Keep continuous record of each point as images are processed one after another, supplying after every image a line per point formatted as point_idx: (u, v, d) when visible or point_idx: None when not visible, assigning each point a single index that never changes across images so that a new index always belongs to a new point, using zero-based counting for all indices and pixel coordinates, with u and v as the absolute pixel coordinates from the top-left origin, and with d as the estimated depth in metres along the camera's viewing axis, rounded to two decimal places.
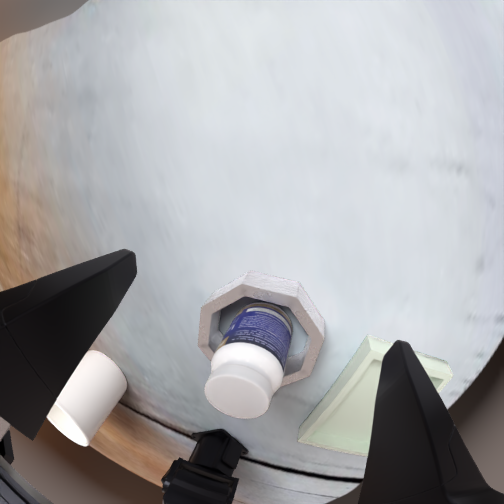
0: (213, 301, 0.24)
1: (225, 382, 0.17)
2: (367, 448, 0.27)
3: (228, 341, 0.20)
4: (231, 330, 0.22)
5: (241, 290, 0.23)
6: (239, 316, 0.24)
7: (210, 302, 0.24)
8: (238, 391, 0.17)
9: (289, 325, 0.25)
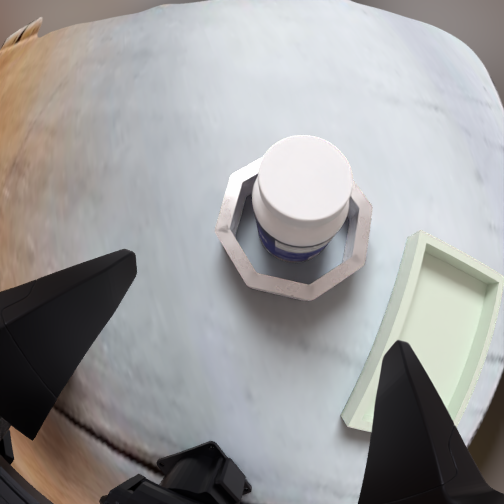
0: (247, 167, 0.21)
1: (293, 145, 0.13)
2: None
3: None
4: None
5: None
6: None
7: (243, 168, 0.21)
8: (311, 157, 0.13)
9: None
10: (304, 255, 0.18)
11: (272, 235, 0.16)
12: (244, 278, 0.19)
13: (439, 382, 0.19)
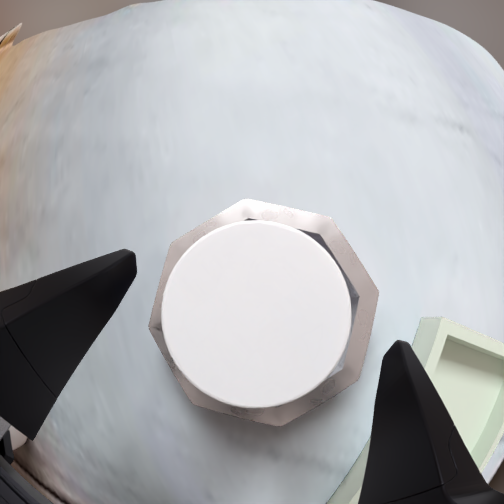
0: (193, 231, 0.14)
1: (232, 247, 0.07)
2: None
3: None
4: None
5: (244, 209, 0.14)
6: None
7: (188, 233, 0.14)
8: (267, 277, 0.07)
9: None
10: None
11: None
12: (188, 394, 0.12)
13: None
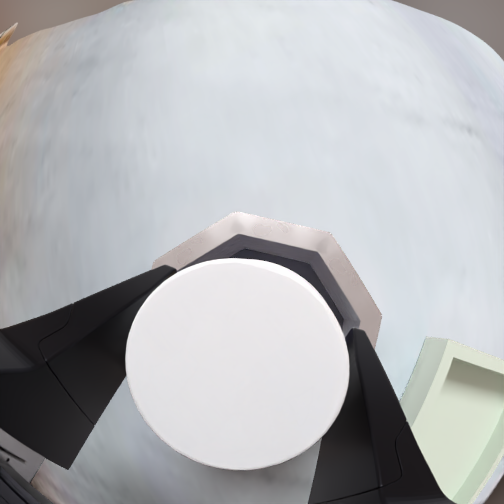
0: (178, 248, 0.13)
1: (203, 293, 0.05)
2: None
3: None
4: None
5: (233, 223, 0.13)
6: None
7: (172, 250, 0.13)
8: (245, 331, 0.05)
9: None
10: None
11: None
12: None
13: None
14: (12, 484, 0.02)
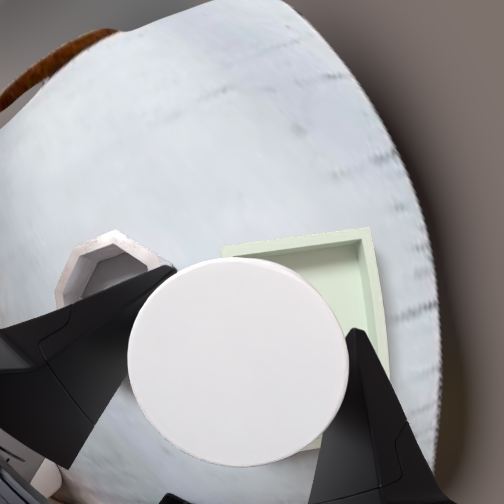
0: (60, 278, 0.20)
1: (205, 292, 0.05)
2: None
3: None
4: None
5: (76, 252, 0.20)
6: None
7: (59, 280, 0.20)
8: (247, 329, 0.05)
9: None
10: None
11: None
12: None
13: None
14: (12, 484, 0.02)
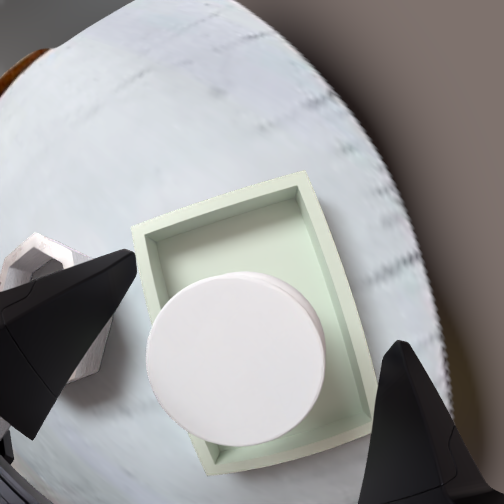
0: None
1: (210, 302, 0.07)
2: (361, 419, 0.14)
3: None
4: None
5: (5, 264, 0.16)
6: None
7: None
8: (243, 332, 0.07)
9: None
10: None
11: None
12: None
13: None
14: None
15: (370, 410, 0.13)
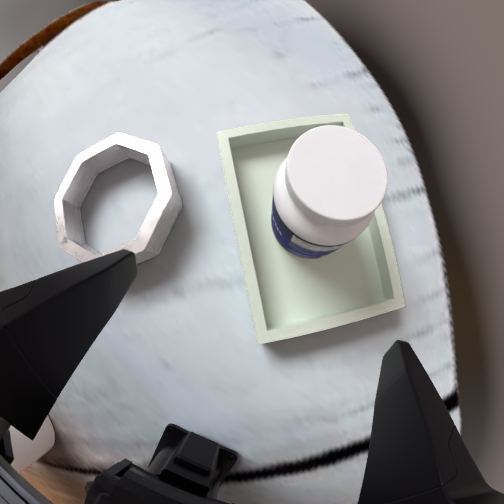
0: (61, 186, 0.20)
1: (328, 135, 0.12)
2: (384, 300, 0.19)
3: None
4: None
5: (78, 159, 0.20)
6: None
7: (59, 189, 0.20)
8: (346, 151, 0.12)
9: None
10: (319, 253, 0.17)
11: (291, 229, 0.14)
12: None
13: (345, 250, 0.21)
14: None
15: (392, 289, 0.18)
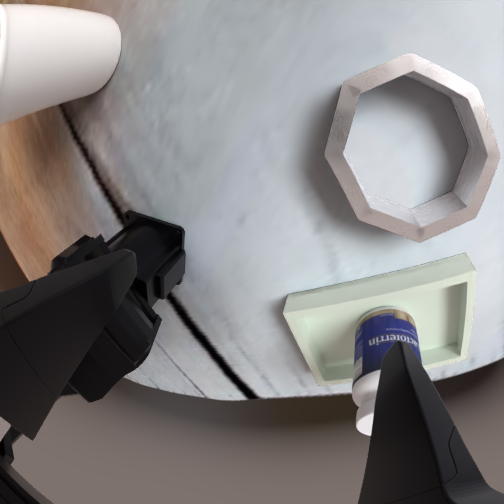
0: (431, 64, 0.10)
1: None
2: (323, 372, 0.27)
3: None
4: (420, 354, 0.18)
5: (470, 91, 0.10)
6: (416, 334, 0.19)
7: (427, 61, 0.10)
8: None
9: None
10: None
11: (363, 378, 0.17)
12: (328, 147, 0.15)
13: None
14: None
15: (330, 380, 0.26)
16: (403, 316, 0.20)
